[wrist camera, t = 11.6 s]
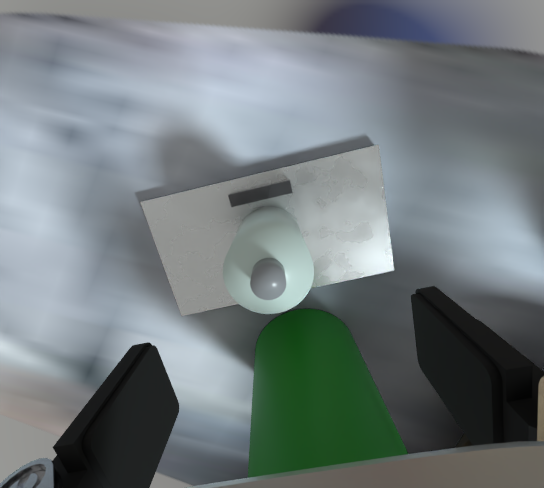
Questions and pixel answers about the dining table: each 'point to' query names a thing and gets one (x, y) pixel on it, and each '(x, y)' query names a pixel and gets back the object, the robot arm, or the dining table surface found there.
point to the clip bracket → (285, 195)
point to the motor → (314, 398)
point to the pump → (268, 262)
